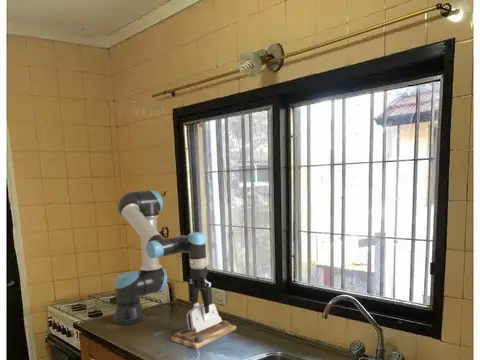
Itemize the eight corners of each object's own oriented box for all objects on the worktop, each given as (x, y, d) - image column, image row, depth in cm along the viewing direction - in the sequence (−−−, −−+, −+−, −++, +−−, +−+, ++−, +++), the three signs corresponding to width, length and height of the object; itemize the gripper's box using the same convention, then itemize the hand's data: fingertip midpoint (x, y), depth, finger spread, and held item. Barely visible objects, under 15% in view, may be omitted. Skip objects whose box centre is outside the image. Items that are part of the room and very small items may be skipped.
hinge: (196, 332, 172) (190, 309, 174) (188, 334, 175) (183, 310, 177) (222, 321, 185) (216, 299, 187) (215, 322, 188) (210, 300, 190)
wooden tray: (171, 340, 177) (170, 332, 176) (211, 322, 196) (210, 315, 196) (196, 348, 166) (196, 340, 166) (236, 329, 185) (235, 321, 185)
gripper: (178, 267, 185) (181, 317, 185) (206, 271, 173) (210, 325, 173) (190, 263, 190) (193, 313, 190) (218, 267, 179) (222, 320, 179)
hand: (201, 318), depth 182 cm, fingers closed on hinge, 5 cm apart
